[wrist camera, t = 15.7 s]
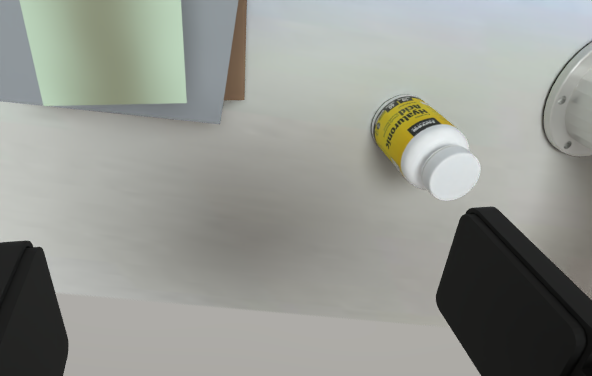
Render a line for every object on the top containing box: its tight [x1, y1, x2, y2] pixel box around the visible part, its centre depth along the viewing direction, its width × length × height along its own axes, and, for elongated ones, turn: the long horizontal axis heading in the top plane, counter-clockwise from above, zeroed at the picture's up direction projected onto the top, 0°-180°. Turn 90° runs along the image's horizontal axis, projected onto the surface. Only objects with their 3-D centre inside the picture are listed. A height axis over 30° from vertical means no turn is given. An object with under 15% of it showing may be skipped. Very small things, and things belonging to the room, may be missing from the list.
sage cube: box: [19, 0, 187, 106], centre depth 21 cm, size 6×6×6 cm
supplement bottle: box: [372, 95, 481, 201], centre depth 37 cm, size 5×5×10 cm
